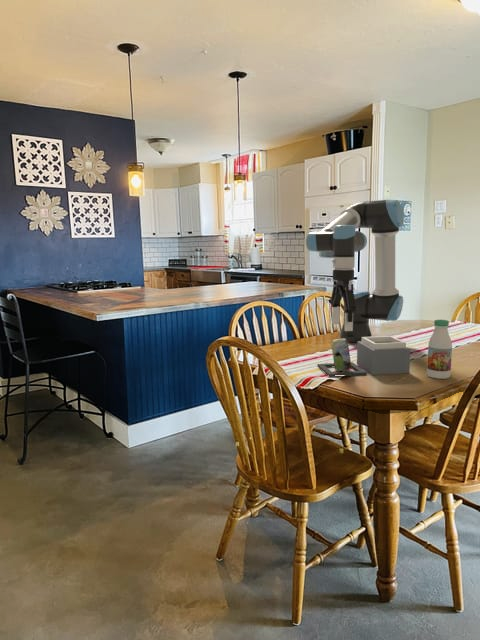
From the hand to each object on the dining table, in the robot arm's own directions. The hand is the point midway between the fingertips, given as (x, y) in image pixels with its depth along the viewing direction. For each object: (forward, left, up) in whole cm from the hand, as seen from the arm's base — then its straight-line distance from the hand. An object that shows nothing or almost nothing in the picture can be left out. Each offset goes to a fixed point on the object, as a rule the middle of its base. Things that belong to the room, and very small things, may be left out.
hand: (341, 327), depth 172 cm
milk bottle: (+13, +31, -17) cm, 37 cm away
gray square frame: (0, 0, -16) cm, 16 cm away
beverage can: (0, 0, -17) cm, 17 cm away
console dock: (0, +16, -16) cm, 23 cm away
